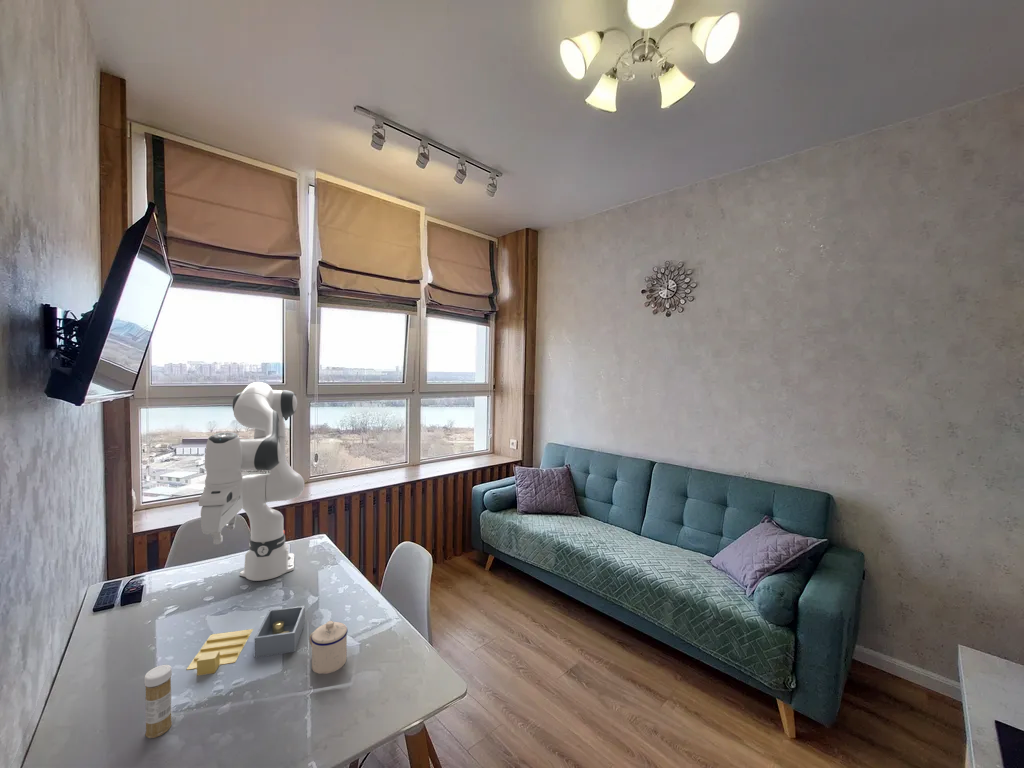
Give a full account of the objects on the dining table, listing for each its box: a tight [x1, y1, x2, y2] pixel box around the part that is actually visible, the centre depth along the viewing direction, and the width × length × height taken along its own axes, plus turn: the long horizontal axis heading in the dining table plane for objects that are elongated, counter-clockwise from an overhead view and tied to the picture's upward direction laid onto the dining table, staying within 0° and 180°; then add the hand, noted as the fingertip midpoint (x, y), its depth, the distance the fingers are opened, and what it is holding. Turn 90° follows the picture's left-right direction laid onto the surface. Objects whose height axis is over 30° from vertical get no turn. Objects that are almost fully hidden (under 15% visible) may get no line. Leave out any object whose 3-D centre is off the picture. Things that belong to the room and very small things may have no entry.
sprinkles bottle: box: [144, 664, 173, 739], centre depth 92 cm, size 5×5×13 cm
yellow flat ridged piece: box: [186, 628, 254, 677], centre depth 117 cm, size 18×11×4 cm, turn 16°
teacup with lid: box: [309, 620, 349, 675], centre depth 114 cm, size 12×9×12 cm
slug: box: [273, 621, 284, 635], centre depth 125 cm, size 3×3×3 cm
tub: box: [253, 605, 306, 658], centre depth 122 cm, size 14×10×6 cm
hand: (224, 536), depth 121 cm, fingers open, 8 cm apart
